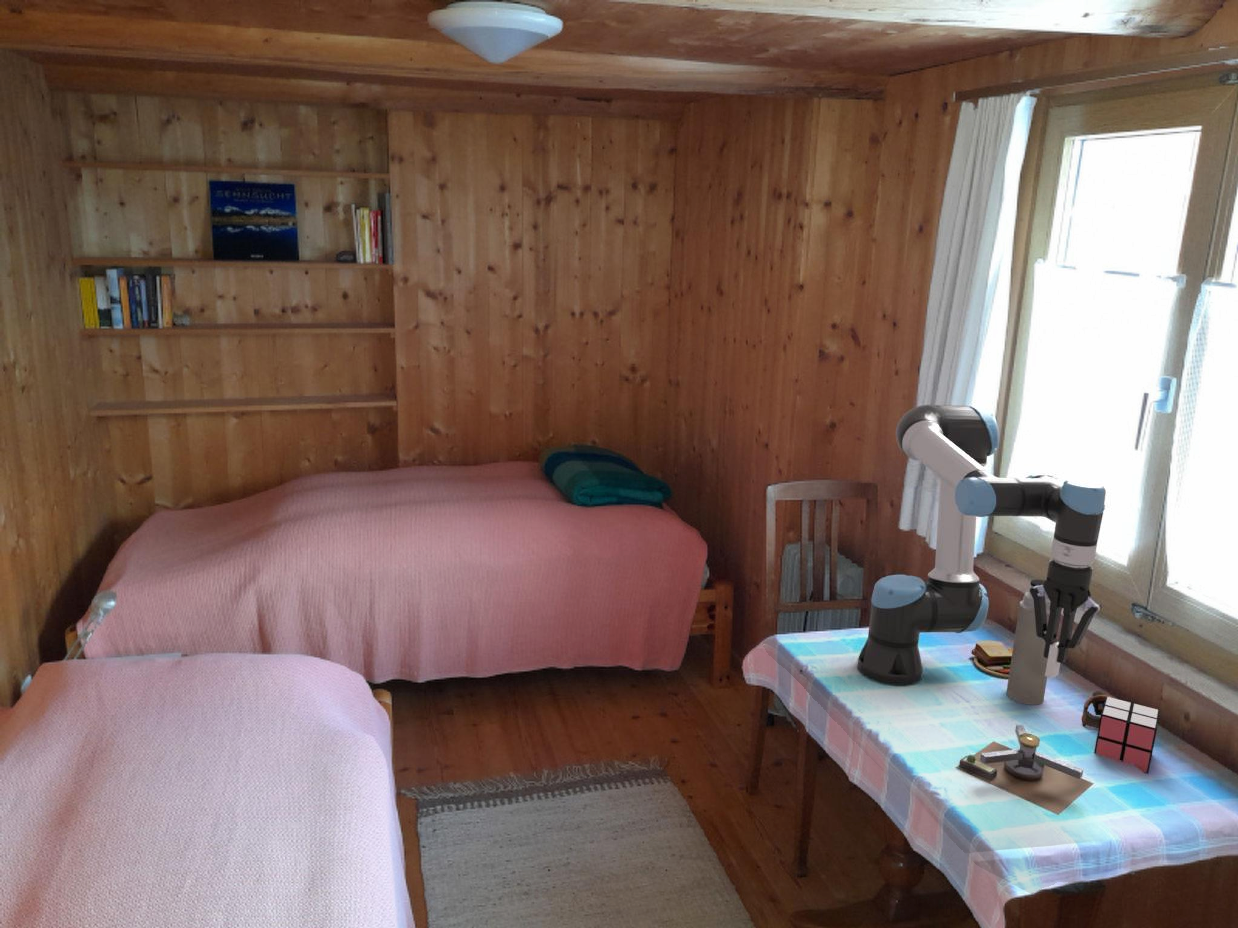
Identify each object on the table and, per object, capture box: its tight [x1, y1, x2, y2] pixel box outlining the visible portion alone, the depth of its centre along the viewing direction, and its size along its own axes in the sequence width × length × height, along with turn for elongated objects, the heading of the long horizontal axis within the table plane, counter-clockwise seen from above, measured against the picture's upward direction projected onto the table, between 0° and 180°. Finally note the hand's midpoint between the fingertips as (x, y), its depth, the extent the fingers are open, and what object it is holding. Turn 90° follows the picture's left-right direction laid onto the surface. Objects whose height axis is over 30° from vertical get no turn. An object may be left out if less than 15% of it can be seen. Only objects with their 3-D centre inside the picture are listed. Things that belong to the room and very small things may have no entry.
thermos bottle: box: [1006, 579, 1051, 705], centre depth 216 cm, size 8×8×28 cm
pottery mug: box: [1081, 690, 1116, 729], centre depth 207 cm, size 12×10×8 cm
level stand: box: [955, 740, 1094, 815], centre depth 184 cm, size 20×16×4 cm
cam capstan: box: [980, 724, 1084, 781], centre depth 185 cm, size 16×18×8 cm
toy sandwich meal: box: [970, 640, 1013, 679], centre depth 234 cm, size 12×14×5 cm
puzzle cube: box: [1093, 696, 1161, 774], centre depth 194 cm, size 10×10×10 cm
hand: (1051, 674), depth 186 cm, fingers closed
